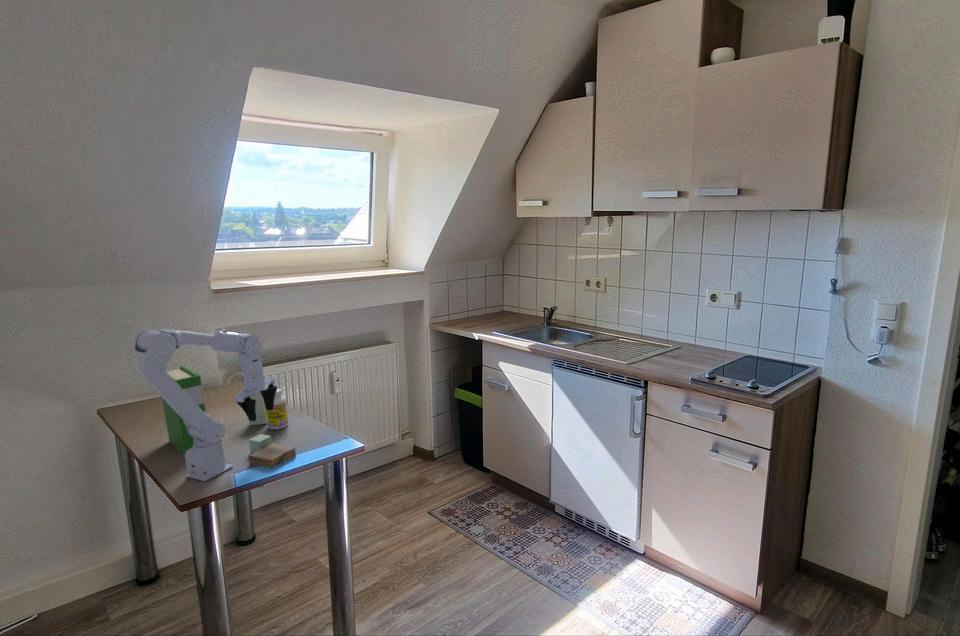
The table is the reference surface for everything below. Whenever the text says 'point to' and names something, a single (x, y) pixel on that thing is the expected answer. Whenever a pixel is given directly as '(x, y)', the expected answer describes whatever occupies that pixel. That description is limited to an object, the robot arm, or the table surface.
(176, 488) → the table surface
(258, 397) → the skincare box
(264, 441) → the sage cube
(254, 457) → the walnut block
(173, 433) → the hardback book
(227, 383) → the table surface
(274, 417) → the supplement bottle
